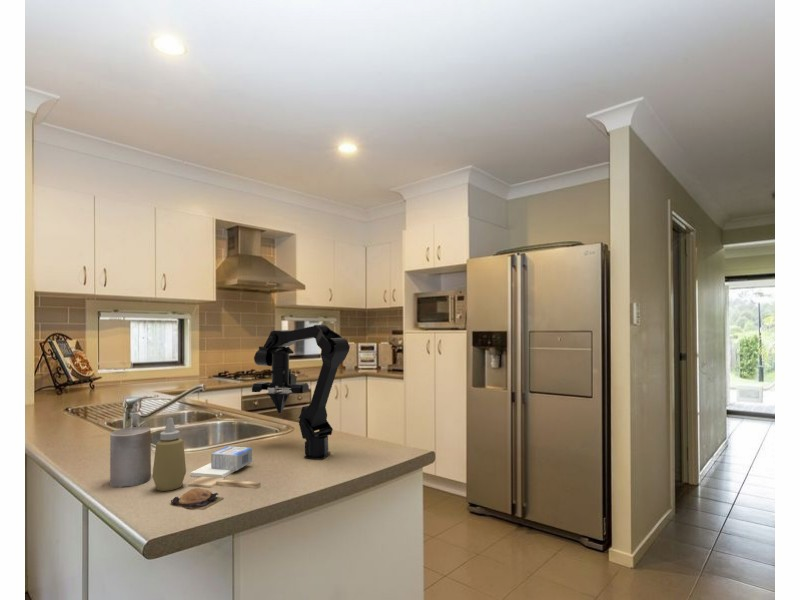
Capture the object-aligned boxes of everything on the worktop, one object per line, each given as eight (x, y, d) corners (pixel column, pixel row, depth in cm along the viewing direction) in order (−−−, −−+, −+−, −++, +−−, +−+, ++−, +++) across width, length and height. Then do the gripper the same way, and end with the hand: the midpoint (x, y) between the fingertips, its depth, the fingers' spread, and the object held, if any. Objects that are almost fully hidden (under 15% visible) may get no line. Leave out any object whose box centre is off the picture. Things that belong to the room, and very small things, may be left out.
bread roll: (226, 500, 115) (226, 485, 116) (201, 513, 108) (201, 497, 108) (191, 495, 119) (192, 480, 119) (165, 507, 111) (165, 491, 111)
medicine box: (237, 455, 133) (210, 452, 135) (237, 471, 133) (210, 468, 135) (252, 447, 141) (227, 445, 143) (252, 462, 141) (226, 460, 143)
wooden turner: (264, 483, 126) (264, 479, 126) (252, 491, 120) (252, 487, 120) (202, 478, 130) (202, 475, 130) (187, 486, 124) (187, 482, 124)
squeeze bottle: (163, 495, 118) (164, 422, 118) (145, 489, 122) (146, 419, 123) (192, 485, 124) (193, 416, 125) (174, 480, 129) (175, 413, 129)
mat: (252, 461, 145) (252, 458, 145) (221, 478, 130) (222, 474, 130) (224, 459, 148) (224, 456, 148) (190, 476, 132) (190, 472, 132)
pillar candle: (137, 473, 135) (137, 420, 135) (158, 478, 130) (158, 424, 130) (102, 484, 126) (102, 428, 127) (122, 490, 122) (122, 431, 122)
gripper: (315, 365, 166) (315, 409, 166) (267, 364, 171) (267, 407, 170) (301, 368, 156) (301, 415, 155) (250, 367, 160) (250, 413, 159)
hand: (280, 413), depth 160 cm, fingers closed
